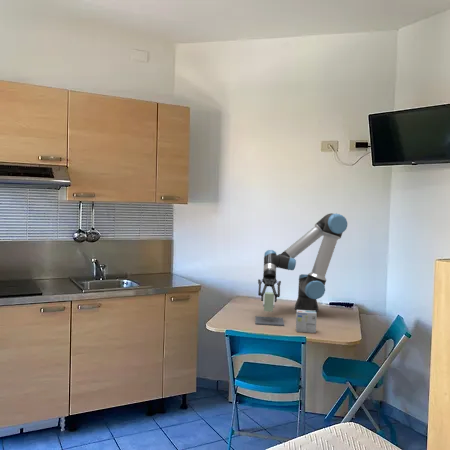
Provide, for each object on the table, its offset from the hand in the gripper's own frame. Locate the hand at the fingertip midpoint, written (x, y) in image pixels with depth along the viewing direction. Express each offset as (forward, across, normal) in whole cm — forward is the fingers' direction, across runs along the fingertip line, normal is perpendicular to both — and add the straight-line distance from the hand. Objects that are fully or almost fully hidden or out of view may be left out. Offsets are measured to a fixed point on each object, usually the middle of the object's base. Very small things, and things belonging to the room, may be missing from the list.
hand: (268, 305), depth 263 cm
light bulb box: (+15, -20, +1) cm, 25 cm away
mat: (+5, -1, -9) cm, 10 cm away
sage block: (0, 0, -5) cm, 5 cm away
